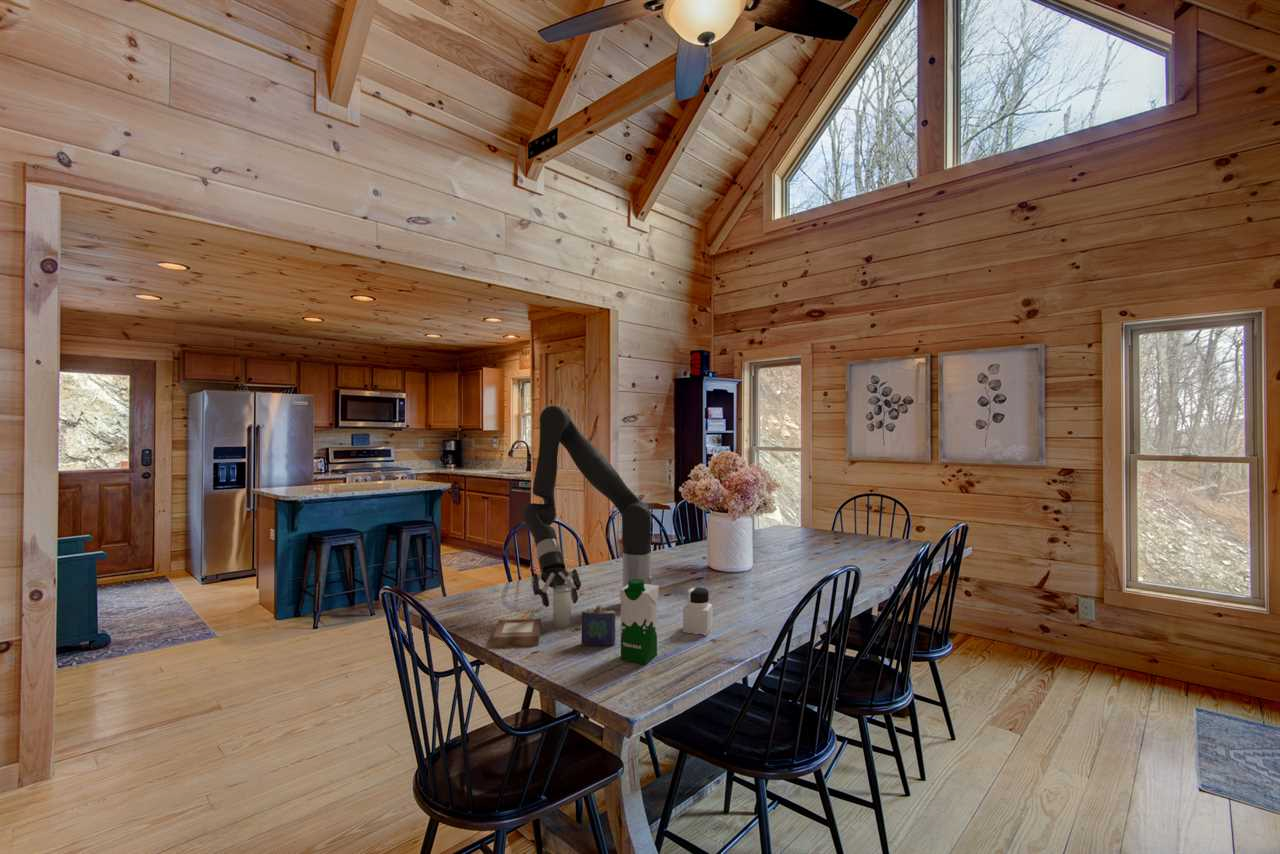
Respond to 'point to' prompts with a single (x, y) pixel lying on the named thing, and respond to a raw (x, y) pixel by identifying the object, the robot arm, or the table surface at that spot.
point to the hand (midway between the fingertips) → (561, 604)
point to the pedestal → (517, 632)
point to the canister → (562, 607)
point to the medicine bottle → (698, 612)
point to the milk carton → (638, 621)
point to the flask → (598, 627)
